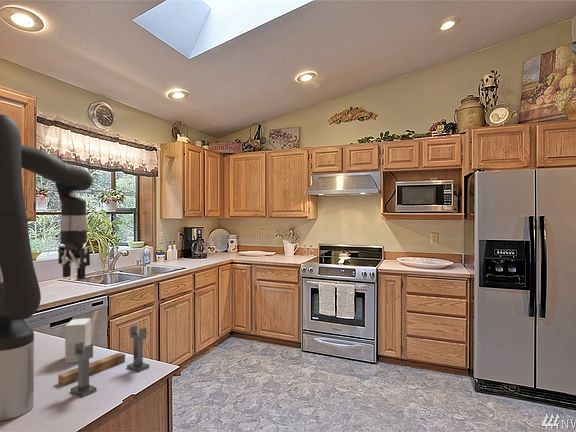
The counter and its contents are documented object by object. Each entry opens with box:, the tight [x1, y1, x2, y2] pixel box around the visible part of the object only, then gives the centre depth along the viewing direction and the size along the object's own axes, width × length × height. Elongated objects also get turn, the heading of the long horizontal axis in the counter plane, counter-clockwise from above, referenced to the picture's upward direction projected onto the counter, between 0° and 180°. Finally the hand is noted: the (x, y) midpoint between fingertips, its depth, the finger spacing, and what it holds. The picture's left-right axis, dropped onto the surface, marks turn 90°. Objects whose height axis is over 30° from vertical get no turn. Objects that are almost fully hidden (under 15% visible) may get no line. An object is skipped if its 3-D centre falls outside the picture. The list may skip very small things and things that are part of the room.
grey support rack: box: [70, 324, 150, 398], centre depth 107 cm, size 22×6×14 cm, turn 151°
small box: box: [64, 317, 92, 364], centre depth 123 cm, size 8×6×13 cm
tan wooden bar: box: [57, 352, 126, 387], centre depth 111 cm, size 20×3×3 cm, turn 150°
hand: (73, 278), depth 114 cm, fingers open, 8 cm apart
